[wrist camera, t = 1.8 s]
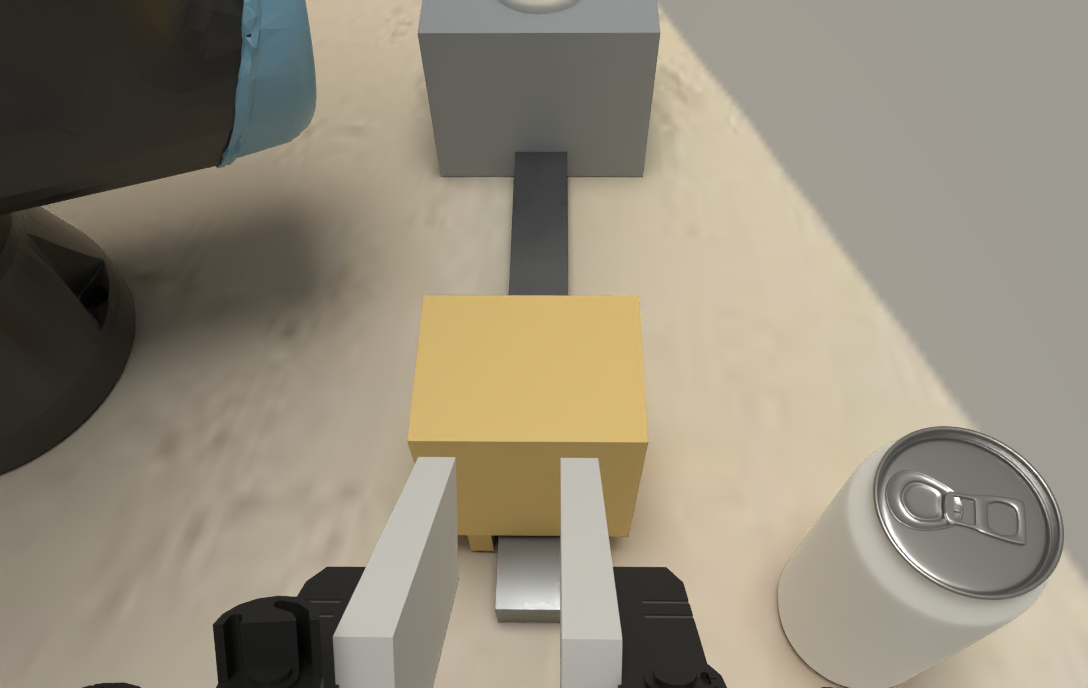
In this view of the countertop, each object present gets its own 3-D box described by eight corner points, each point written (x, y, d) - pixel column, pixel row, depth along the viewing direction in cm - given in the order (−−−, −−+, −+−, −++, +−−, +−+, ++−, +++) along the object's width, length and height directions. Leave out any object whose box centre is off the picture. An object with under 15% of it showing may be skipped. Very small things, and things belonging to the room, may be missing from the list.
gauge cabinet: (642, 176, 49) (663, 9, 40) (441, 176, 50) (413, 10, 40) (636, 85, 54) (653, -85, 44) (450, 85, 54) (428, -84, 44)
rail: (568, 622, 36) (569, 609, 34) (498, 621, 36) (495, 609, 34) (566, 176, 50) (567, 151, 48) (516, 176, 50) (515, 151, 48)
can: (781, 525, 38) (864, 395, 28) (929, 558, 37) (1070, 437, 27) (767, 670, 34) (854, 584, 24) (929, 711, 33) (1090, 639, 23)
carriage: (624, 552, 37) (647, 442, 28) (444, 550, 37) (407, 441, 28) (619, 430, 40) (639, 295, 31) (453, 429, 40) (423, 295, 31)
